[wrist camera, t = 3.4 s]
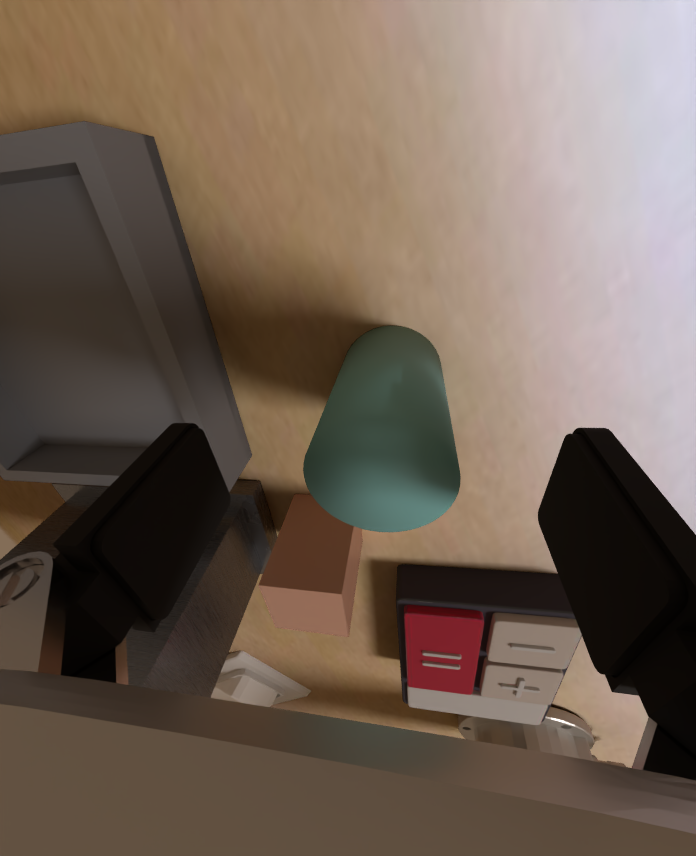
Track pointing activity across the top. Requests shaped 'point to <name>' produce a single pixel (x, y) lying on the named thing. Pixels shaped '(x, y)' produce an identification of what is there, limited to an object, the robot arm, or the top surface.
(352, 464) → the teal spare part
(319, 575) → the terracotta block
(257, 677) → the light switch
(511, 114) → the top surface
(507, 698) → the calculator
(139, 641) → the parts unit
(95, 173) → the parts tray
